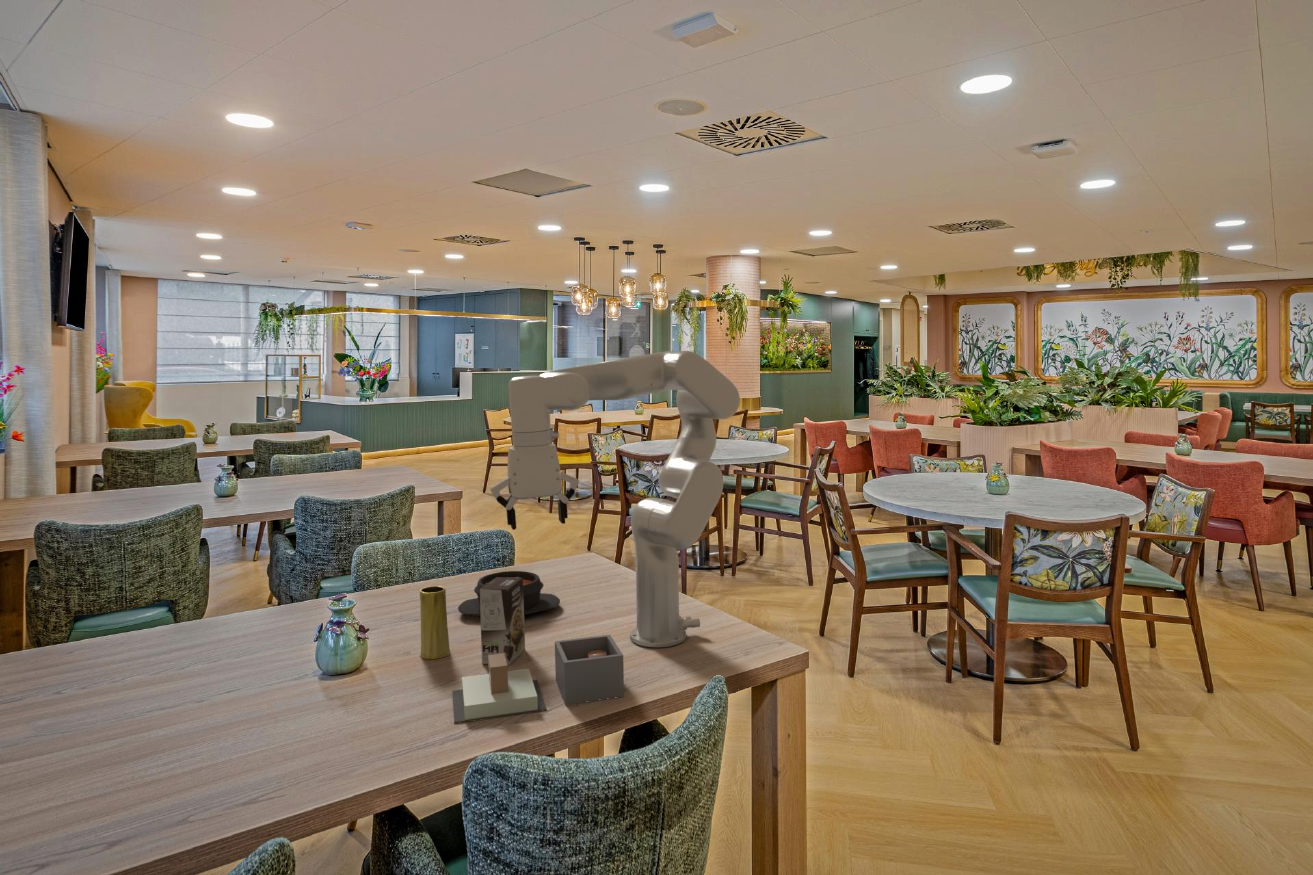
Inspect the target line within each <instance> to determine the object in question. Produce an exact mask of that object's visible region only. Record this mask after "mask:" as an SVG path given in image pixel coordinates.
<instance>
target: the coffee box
mask: <svg viewBox="0 0 1313 875" xmlns="http://www.w3.org/2000/svg"><path fill="white" fill-rule="evenodd" d="M479 617H480V640H481V641H480V642H481V644H480V645H481V647H480V648H481V664H487V665H488V655H493V654H501V653H504V654H505V658H506V662H507V667H508V666H511V665H512V663H514V661H515V660H516V659H517V658H518V657H520V655H521V654H522V653H523V652H524V651H525V650H526V638H525V635H526V634H525V616H524V599H523V578H517V577H496V578H494V579H493V580H492V581H490V582H489V583H487V584H486V585H484V586H483V587H481V588H480V616H479Z"/></svg>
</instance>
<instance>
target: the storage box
mask: <svg viewBox="0 0 1313 875" xmlns="http://www.w3.org/2000/svg"><path fill="white" fill-rule="evenodd" d="M554 662H555V665H554V669H555V683H556V682H557V683H556V685H557V688H558V690H559V692H560V696H561V695H562V696H561V698H562V701H563V700H564V701H563V703H564V706H568V705H567V704H570V705H576V704H582V703H583V702H584V703H587V702H586V701H591V702H596V701H595V700H598V701H600V700H599V699H605V700H608V699H607V698H612V699H616V698H615V697H619V698H624V697H625V680H624V678H625V677H624V670H625V669H624V668H625V667H624V654H623V652H622V651H621V649H620V648H619V646H618V645H617V644H616V642H615V640H614V639H613V637H612V636H611V634H604V635H595V636H587V637H580V638H569V639H561V640H555V641H554ZM584 703H583V704H584Z"/></svg>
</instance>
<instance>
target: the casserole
mask: <svg viewBox="0 0 1313 875" xmlns="http://www.w3.org/2000/svg"><path fill="white" fill-rule="evenodd" d="M496 577H517V578H523V599H524V617H525V616H527V615H528V616H529V615H530V614H534V613H537V612H543V611H548V610H552V609H555V608H556V607H558V606H559V605H560V603H561V599H560V598H559V597H558V595H557V596H556V595H555V594H553V593H545V592H544V593H541V592H542V591H541V590H542V589H543V588H544V583H543V582H542V581H541V579H540V577H539V575H538V574H536V573H534V572H531V571H524V570H523V571H521V570H507V571H499V572H494V573H490V574H487V575H484V576H482V577H480V578H479V579H478V581H477V584H476V586H474V588H473V591H474V593H475V594H476V595H477V597H476V598H475V597H474V598H469V599H467V600H464V601H463V602H461V603H460V604H459V605H458V607H457V611H458V612H459V613H461V614H462V615H465V616H474V617H475V616H478V617H481V616H480V588H481V587H483V586H484V585H486V584H487V583H489V582H490V581H492V580H493V579H494V578H496Z"/></svg>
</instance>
